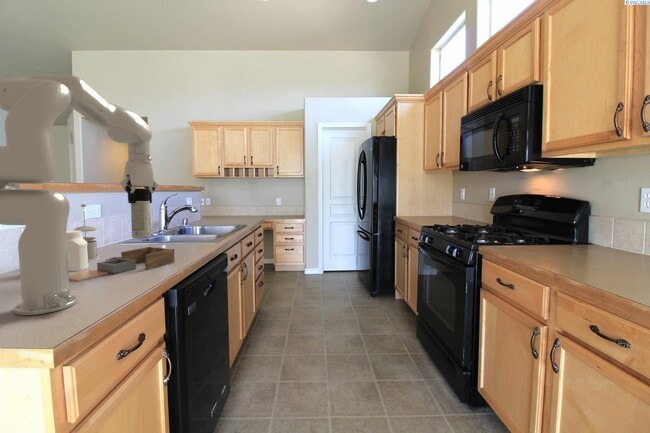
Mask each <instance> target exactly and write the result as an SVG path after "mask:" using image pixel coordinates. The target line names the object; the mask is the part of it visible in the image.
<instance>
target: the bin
mask: <svg viewBox="0 0 650 433" xmlns="http://www.w3.org/2000/svg"><path fill="white" fill-rule="evenodd" d="M96 268H97V269H96V271H101V272H108V274H107V275H117V274H120V273H125V272H128V271H133V270H136V269H137V264H136V260H130V259H122V258H118V259H114V260H109V261H100V262H97V263H96Z"/></svg>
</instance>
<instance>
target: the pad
mask: <svg viewBox="0 0 650 433" xmlns="http://www.w3.org/2000/svg"><path fill="white" fill-rule="evenodd" d="M105 275H109V274H108V272H101V271H97V270H96V269H95V270H94V269H86V270H81V271H77V272H74V273H69V281H74V282H81V281H85V280H90V279H94V278H98V277H101V276H105Z"/></svg>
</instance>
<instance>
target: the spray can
mask: <svg viewBox="0 0 650 433" xmlns="http://www.w3.org/2000/svg"><path fill="white" fill-rule="evenodd" d="M134 193H135V201H136V203H130V214H131V215H130V217H131V218H130V220H131V238H133V239H148V238H151V236H152V235H151V231H152V230H151V203H150V195H149V189H144V188H135V191H134Z"/></svg>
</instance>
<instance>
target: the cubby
mask: <svg viewBox="0 0 650 433" xmlns="http://www.w3.org/2000/svg"><path fill="white" fill-rule="evenodd" d="M120 254H121V256H120V257H122V259H130V260H136V265H138V264H140V263H145V270H146V271H149V270H152V269H156V268H161V267H164V266H168V265H171V264H170V263H172V264H174V262H175V248H167V247H156V246H146V247H141V248H135V249H131V250H130V249H129V250H124V251H121V253H120ZM167 264H168V265H167Z"/></svg>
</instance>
